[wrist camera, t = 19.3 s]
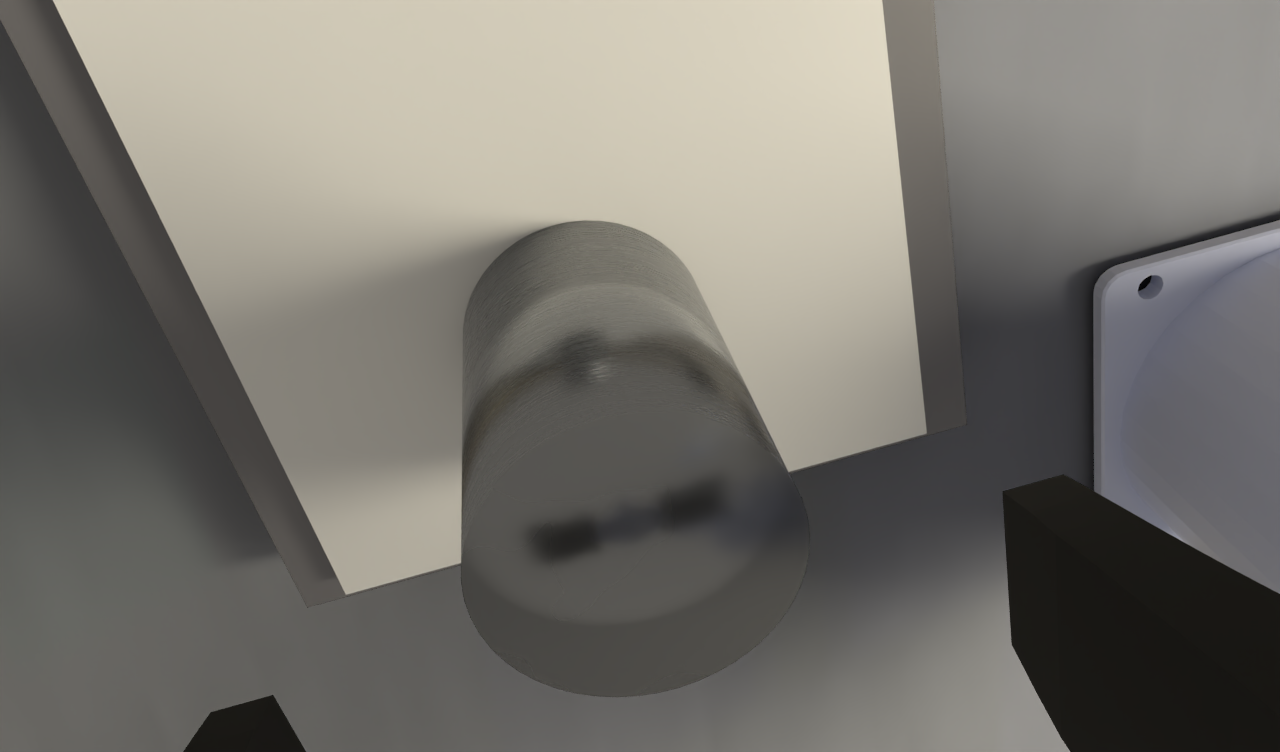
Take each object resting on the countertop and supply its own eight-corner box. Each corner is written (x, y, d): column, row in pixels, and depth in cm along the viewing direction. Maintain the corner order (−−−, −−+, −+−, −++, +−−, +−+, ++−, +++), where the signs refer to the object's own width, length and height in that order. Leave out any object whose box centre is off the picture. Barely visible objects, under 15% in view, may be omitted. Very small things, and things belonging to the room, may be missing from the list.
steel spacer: (693, 201, 16) (802, 385, 11) (714, 417, 18) (815, 660, 13) (438, 243, 16) (425, 453, 11) (488, 458, 18) (497, 724, 13)
